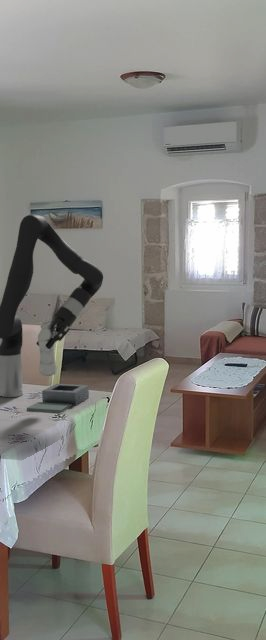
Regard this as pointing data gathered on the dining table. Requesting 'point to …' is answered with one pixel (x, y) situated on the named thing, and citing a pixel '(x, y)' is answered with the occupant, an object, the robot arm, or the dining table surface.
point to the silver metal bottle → (46, 351)
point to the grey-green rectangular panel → (49, 407)
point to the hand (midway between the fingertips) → (42, 346)
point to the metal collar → (65, 394)
